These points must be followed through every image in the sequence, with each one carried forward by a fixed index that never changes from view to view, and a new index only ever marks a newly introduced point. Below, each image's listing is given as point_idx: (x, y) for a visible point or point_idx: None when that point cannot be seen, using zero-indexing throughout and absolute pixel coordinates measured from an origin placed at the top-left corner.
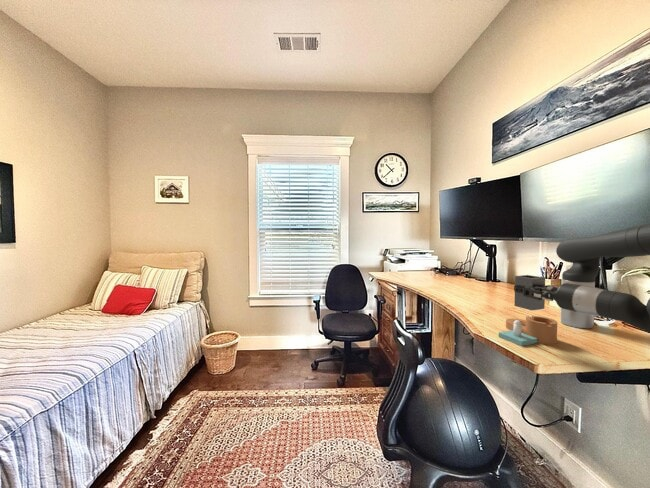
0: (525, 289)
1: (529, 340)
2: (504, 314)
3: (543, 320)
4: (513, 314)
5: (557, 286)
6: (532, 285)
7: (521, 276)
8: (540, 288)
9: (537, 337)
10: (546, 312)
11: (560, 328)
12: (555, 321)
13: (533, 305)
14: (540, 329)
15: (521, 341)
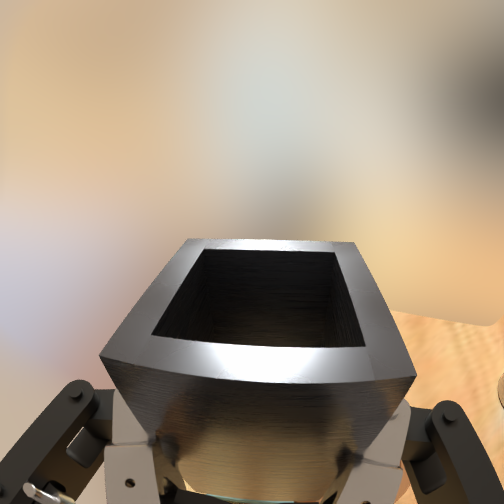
0: (59, 403)
1: (249, 501)
2: (407, 322)
3: None
4: (429, 325)
5: (483, 461)
6: (134, 414)
7: (235, 254)
8: (110, 498)
9: (298, 501)
10: (500, 327)
11: (474, 418)
12: (400, 490)
13: (203, 487)
14: (307, 501)
15: (206, 494)
